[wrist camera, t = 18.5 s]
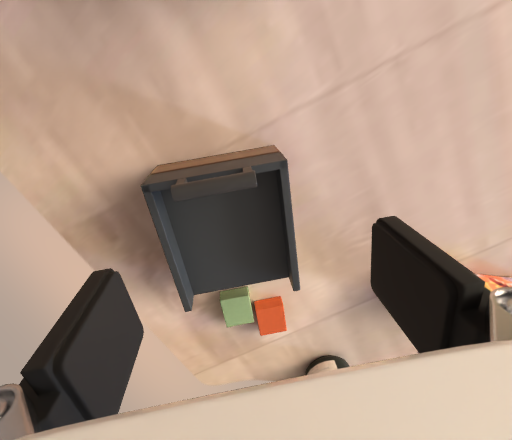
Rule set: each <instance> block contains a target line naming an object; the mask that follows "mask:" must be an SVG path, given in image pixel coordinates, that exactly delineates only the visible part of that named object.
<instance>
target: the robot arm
mask: <svg viewBox="0 0 512 440" xmlns="http://www.w3.org/2000/svg"><path fill="white" fill-rule="evenodd" d="M371 287H372V289H373V291H374V293H375V294H376V296H377V297H378V298H379V300H380V301H381V302H382V304H383V305H384V306H385V308H386V309H387V310H388V312H389V313H390V314H391V316H392V317H393V318H394V320H395V321H396V322H397V324H398V325H399V326H400V328H401V329H402V330H403V332H404V333H405V334H406V336H407V337H408V338H409V340H410V341H411V343H412V344H413V345H414V347H415V348H416V349H417V351H418V352H419V354H414V355H408V356H403V357H397V358H392V359H387V360H382V361H377V362H372V363H367V364H362V365H356V366H351V367H346V368H341V369H336V370H331V371H326V372H321V373H316V374H311V375H306V376H301V377H296V378H291V379H286V380H281V381H276V382H271V383H266V384H261V385H256V386H251V387H246V388H241V389H236V390H231V391H226V392H222V393H217V394H211V395H206V396H202V397H197V398H192V399H187V400H182V401H177V402H173V403H168V404H163V405H158V406H154V407H149V408H144V409H139V410H134V411H129V412H125V413H120V414H118V412H119V409H120V406H121V402H122V399H123V396H124V393H125V390H126V387H127V384H128V381H129V378H130V375H131V372H132V369H133V366H134V363H135V360H136V357H137V354H138V350H139V347H140V344H141V341H142V338H143V333H144V331H143V326H142V324H141V321H140V319H139V317H138V314H137V312H136V310H135V307H134V305H133V303H132V301H131V298H130V296H129V294H128V291H127V289H126V287H125V285H124V282H123V280H122V278H121V275H120V274H119V272H117V271H116V272H114V270H113V269H111V268H110V269H105V270H99V271H94V272H93V273H92V274H91V275H90V277H89V278H88V279H87V281H86V282H85V283H84V285H83V286H82V288H81V289H80V291H79V292H78V293H77V294H76V296H75V297H74V299H73V300H72V301H71V303H70V304H69V305H68V307H67V308H66V310H65V311H64V312H63V314H62V315H61V317H60V318H59V319H58V321H57V322H56V324H55V325H54V326H53V328H52V329H51V331H50V332H49V333H48V335H47V336H46V338H45V339H44V340H43V342H42V343H41V344H40V346H39V347H38V348H37V350H36V351H35V353H34V354H33V355H32V357H31V359H30V360H29V361H28V362H27V364H26V365H25V367H24V368H23V369H22V371H21V374H22V376H23V377H24V378H23V380H22V381H21V383H20V384H19V385H17V384H5V385H2V386H0V440H512V287H501V288H497V289H494V290H493V291H492V292H491V291H490V290H489V289H487V288H486V287H485V281H484V280H482V279H481V278H479V277H478V276H477V275H475V274H474V273H473V272H471V271H470V270H468V269H467V268H466V267H464V266H463V265H462V264H460V263H459V262H458V261H456V260H455V259H453V258H452V257H451V256H449V255H448V254H447V253H445V252H444V251H442V250H441V249H440V248H438V247H437V246H436V245H434V244H433V243H432V242H430V241H429V240H427V239H426V238H425V237H423V236H422V235H421V234H419V233H418V232H416V231H415V230H414V229H412V228H411V227H410V226H408V225H407V224H406V223H404V222H403V221H401V220H400V219H399V218H397V217H396V216H390V217H385V218H379V219H378V220H377V222H376V223H374V224H373V226H372V252H371Z"/></svg>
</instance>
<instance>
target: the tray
mask: <svg viewBox="0 0 512 440" xmlns="http://www.w3.org/2000/svg"><path fill="white" fill-rule="evenodd" d="M141 188H142V191H143V194H144V197H145V199H146V202H147V205H148V208H149V211H150V214H151V216H152V219H153V222H154V225H155V228H156V231H157V233H158V236H159V239H160V242H161V245H162V248H163V250H164V253H165V256H166V259H167V262H168V265H169V268H170V270H171V273H172V276H173V279H174V282H175V285H176V287H177V290H178V293H179V296H180V299H181V302H182V304H183V307H184V310H185V312H188V311H192V305H193V297H194V295H197V294H202V293H208V292H213V291H218V290H224V289H229V288H234V287H239V286H245V285H250V284H255V283H260V282H266V281H271V280H276V279H281V278H287V277H289V279H290V282H291V285H292V288H293V291H298V290H300V282H299V272H298V262H297V252H296V242H295V233H294V223H293V213H292V203H291V193H290V183H289V173H288V163H287V159H286V158H285V157H284V156H283V154H282V153H281V152H277V153H272V154H266V155H260V156H255V157H249V158H243V159H238V160H232V161H226V162H221V163H215V164H209V165H204V166H198V167H192V168H187V169H181V170H175V171H170V172H164V173H158V174H153V175H149V176H148V177H147V178H146V180H145V181H144V182H143V183H142V185H141Z"/></svg>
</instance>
